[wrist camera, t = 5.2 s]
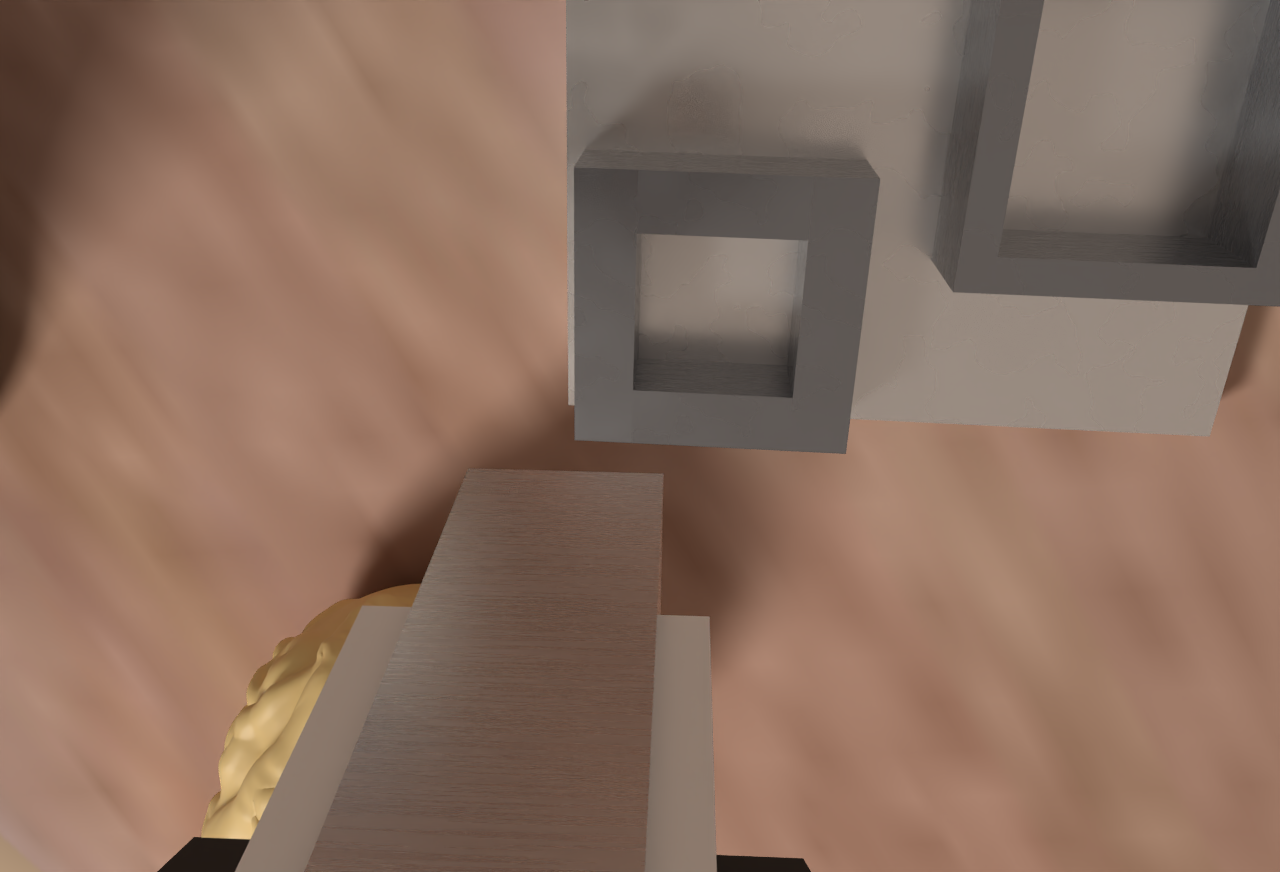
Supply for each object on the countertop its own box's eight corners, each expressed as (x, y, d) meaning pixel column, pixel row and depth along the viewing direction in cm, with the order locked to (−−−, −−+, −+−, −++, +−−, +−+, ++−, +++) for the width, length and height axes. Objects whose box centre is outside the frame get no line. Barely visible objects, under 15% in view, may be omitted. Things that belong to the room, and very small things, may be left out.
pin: (454, 649, 19) (145, 1602, 8) (435, 440, 17) (1, 1326, 6) (688, 656, 18) (684, 1638, 8) (695, 447, 17) (705, 1367, 6)
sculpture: (381, 478, 36) (261, 675, 27) (658, 647, 39) (640, 884, 29) (243, 682, 41) (98, 915, 31) (500, 823, 43) (438, 1079, 34)
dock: (574, 386, 34) (555, 446, 30) (572, -86, 28) (549, -90, 24) (1189, 416, 33) (1255, 482, 29) (1326, -65, 27) (1432, -65, 23)
